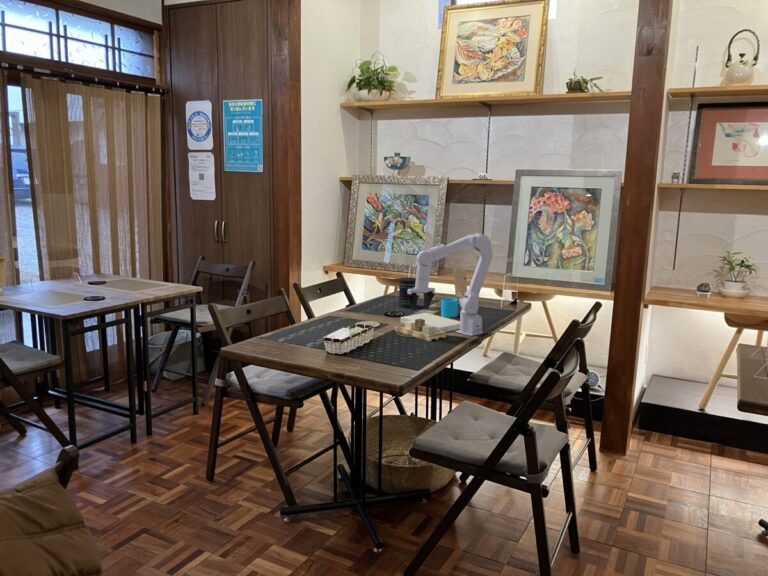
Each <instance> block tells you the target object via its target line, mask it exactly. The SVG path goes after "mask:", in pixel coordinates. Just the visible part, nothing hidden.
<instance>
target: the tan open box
mask: <svg viewBox="0 0 768 576" xmlns="http://www.w3.org/2000/svg"><path fill="white" fill-rule="evenodd" d="M422 326H425V320H424V319H415V329H412V330H410V329H406V328H405V324H404V323H401V324H399V325H395V326H394V332H396V333H400V334H403V335H406V336H411V337H412V338H413V337H414V338H417V339H420V340H423V339H424V341H427V342H432V340H435V341H436V340H439V338H441V339H445V338H446V336H447V332H444V331H440V330H435V334H431V335H427V334H424V333H422Z"/></svg>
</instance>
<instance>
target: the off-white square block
mask: <svg viewBox="0 0 768 576" xmlns="http://www.w3.org/2000/svg"><path fill="white" fill-rule="evenodd" d="M405 328H406V329H410V330H412V329H415V321H412V320H411V321H405Z"/></svg>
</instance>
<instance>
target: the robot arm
mask: <svg viewBox="0 0 768 576" xmlns="http://www.w3.org/2000/svg"><path fill="white" fill-rule="evenodd" d="M464 247H471V248H474V249H475V250H476V252H477V253H478V255H479V259H478V261H477V263H476V267H475V269H474V272H473V275H472V278H471V281H470V283H469V287H468V289H467V290H466V292H465V293H464V295H463V296H462V298H460V300H459V306H460V308H461V310H460V314H459V315H460V316H459V317H460V318H459V319H460V320H459V321H460V329H457V330H455V332H456V333H459V334H463V335H466V336H469V337H470V336H471V337H473V336H477V335H483V334H484V332H483V318H482V316H481V315H480V314H478V310H479V301H480V292H481V289H482V288H483V284H484V281H485V279H486V275H487V273H488V271H489V269H490V265H491V263H492V260H493V249H492V241H491V240H490V238H489V237H488V236H487V235H486V234H481V233H480V232H475V233H473V234H468V235H466V236H463V237H462V238H459V239H457V240H455V241H452V242H450V243H448V244H444V243H437V244H436V245H435V246H433V247H431V248H429V247H428V248H426V249H425V250H420V251H419V252H418V253H417V255H416V261H417V266H416V272H415V273H416V275H415V278H416V283H415V287H414V288H412V289H408V292H407V296H408V298H409V301H410V305H411V311H416V309H417V307H416V304H418V300H419V297H420V296H419V295H418V294H423V309H425V310H428V309H430V308H429V307H430V304H431V302H432V300H433V299H434V298H435V296H436V294H435V293H436V288H435V287H429V284H430V273H431V264H432V262H436V261H438V260H440V259H443V258H445V257H447V256H448V254H449V253H450V252H453V251H456V250H458V249H461V248H464ZM416 293H417V294H416Z"/></svg>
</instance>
